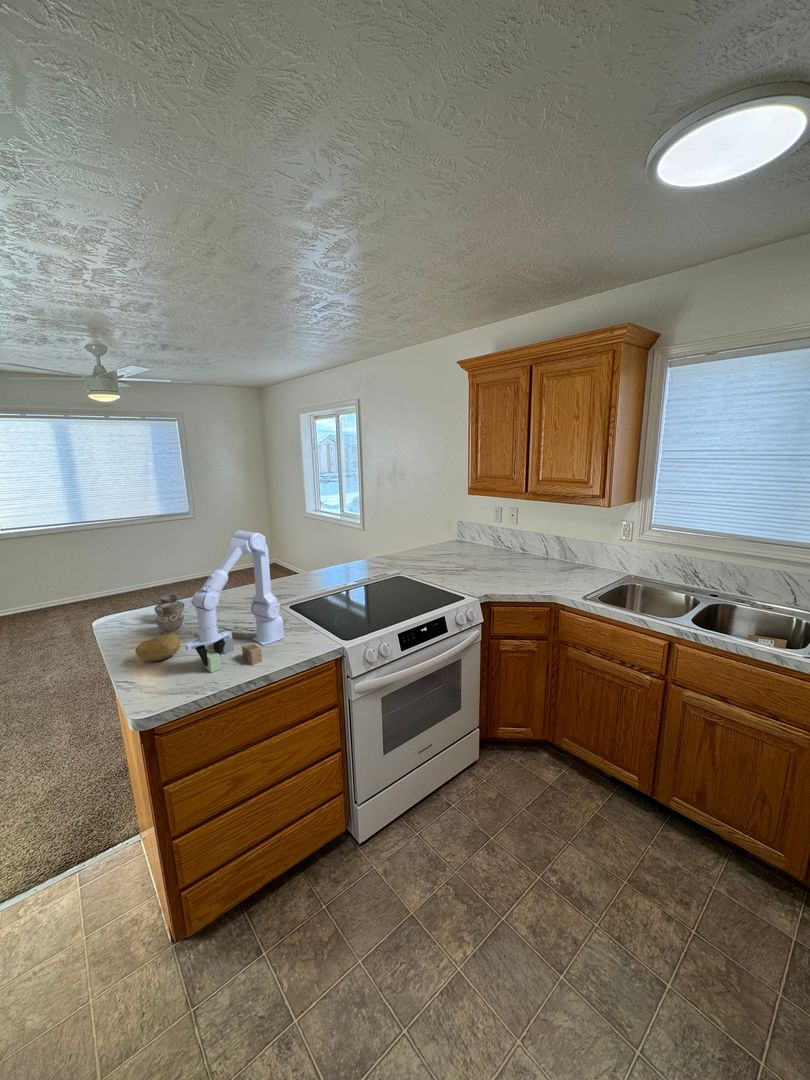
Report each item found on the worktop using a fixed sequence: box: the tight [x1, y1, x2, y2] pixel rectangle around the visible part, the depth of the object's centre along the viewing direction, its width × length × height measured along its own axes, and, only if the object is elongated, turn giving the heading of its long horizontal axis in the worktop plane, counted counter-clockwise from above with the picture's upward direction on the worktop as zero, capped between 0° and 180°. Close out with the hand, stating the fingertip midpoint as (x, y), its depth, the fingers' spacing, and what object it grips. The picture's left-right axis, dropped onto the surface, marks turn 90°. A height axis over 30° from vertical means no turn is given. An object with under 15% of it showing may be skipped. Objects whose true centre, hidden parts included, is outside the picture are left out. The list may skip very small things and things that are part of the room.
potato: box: [135, 633, 181, 662], centre depth 152 cm, size 10×14×8 cm
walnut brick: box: [241, 642, 263, 666], centre depth 152 cm, size 7×4×5 cm, turn 47°
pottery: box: [153, 593, 185, 635], centre depth 179 cm, size 11×25×12 cm, turn 29°
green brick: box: [202, 648, 223, 673], centre depth 147 cm, size 7×4×5 cm, turn 47°
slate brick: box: [222, 636, 235, 654], centre depth 160 cm, size 7×4×5 cm, turn 47°
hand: (211, 663), depth 147 cm, fingers closed on green brick, 3 cm apart
